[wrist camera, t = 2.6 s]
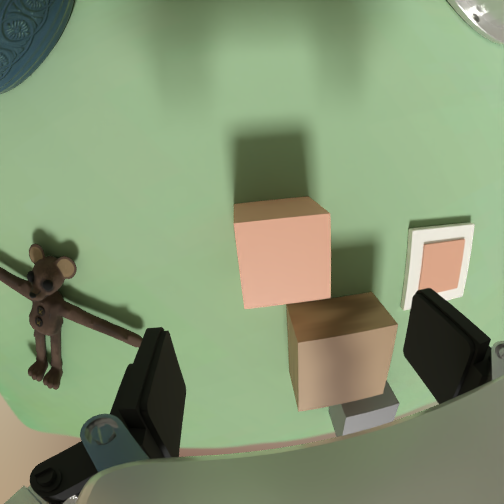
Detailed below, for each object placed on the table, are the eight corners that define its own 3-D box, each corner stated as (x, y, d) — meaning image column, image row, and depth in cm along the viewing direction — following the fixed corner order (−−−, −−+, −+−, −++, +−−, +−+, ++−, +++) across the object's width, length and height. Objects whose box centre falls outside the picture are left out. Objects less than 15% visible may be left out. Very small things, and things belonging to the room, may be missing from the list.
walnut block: (370, 290, 23) (398, 324, 18) (363, 356, 26) (382, 393, 21) (285, 303, 23) (297, 342, 18) (289, 370, 26) (298, 411, 21)
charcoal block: (379, 368, 26) (399, 403, 22) (372, 400, 28) (388, 434, 23) (331, 378, 26) (346, 417, 22) (328, 410, 28) (339, 447, 23)
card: (470, 222, 21) (475, 224, 21) (459, 293, 24) (463, 297, 23) (408, 228, 21) (413, 231, 20) (400, 307, 24) (404, 311, 23)
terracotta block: (308, 196, 20) (330, 213, 15) (311, 264, 22) (330, 297, 17) (233, 203, 20) (233, 223, 15) (242, 272, 22) (244, 309, 17)
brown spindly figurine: (-23, 346, 20) (-44, 225, 15) (-5, 323, 24) (-13, 207, 19) (121, 423, 24) (147, 322, 18) (131, 391, 28) (162, 286, 22)
